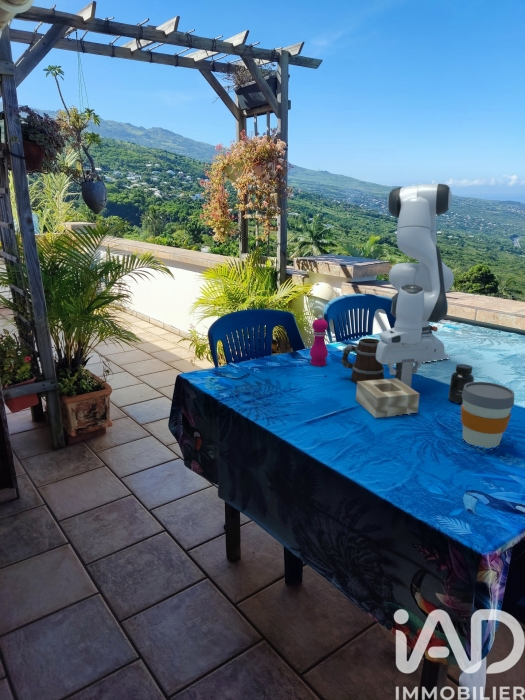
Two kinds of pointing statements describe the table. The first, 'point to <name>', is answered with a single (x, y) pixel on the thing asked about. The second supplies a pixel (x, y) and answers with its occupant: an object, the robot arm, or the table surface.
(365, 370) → the mug
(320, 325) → the pepper mill
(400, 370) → the grey rectangular bar
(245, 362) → the table surface
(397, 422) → the table surface
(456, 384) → the supplement bottle
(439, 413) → the table surface
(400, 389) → the well block
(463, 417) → the reusable coffee cup
